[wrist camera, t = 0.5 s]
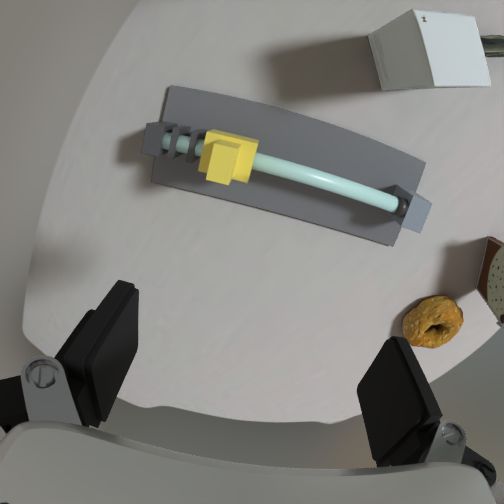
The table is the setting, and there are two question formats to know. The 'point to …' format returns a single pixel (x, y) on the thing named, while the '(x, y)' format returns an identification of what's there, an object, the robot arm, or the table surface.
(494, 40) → the mobile phone
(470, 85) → the supplement box
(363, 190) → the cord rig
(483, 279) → the food container
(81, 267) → the table surface
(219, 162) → the sleeve
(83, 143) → the table surface
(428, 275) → the table surface
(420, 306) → the bagel
